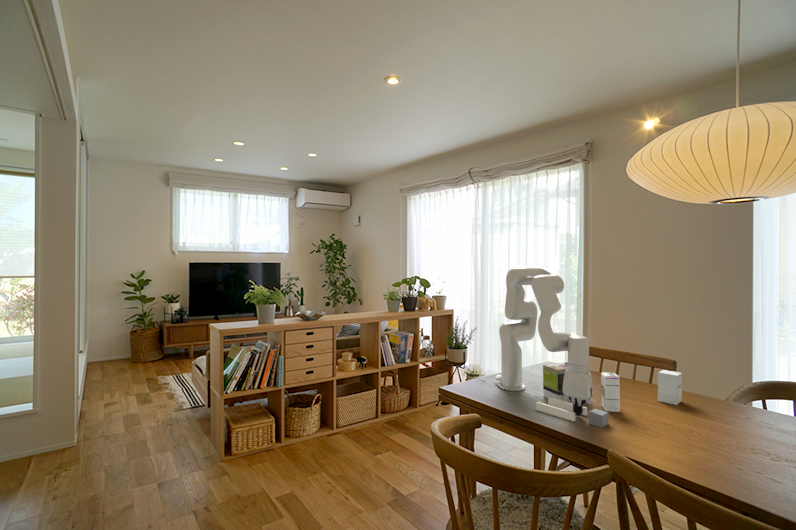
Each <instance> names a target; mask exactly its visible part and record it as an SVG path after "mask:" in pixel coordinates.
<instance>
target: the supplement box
mask: <svg viewBox="0 0 796 530" xmlns="http://www.w3.org/2000/svg"><path fill="white" fill-rule="evenodd" d="M682 375H683V373H682V372H678V371H672V370H666V369H662V370H660V371H659V372H657V402H661V403H666V404H669V405H673V404H674V406H678V405H679V404H680V403H681V402H682V401H683V400H682V397H683V396H682V395H683V394H682V393H683V392H682V388H683V385H682V384H683V380H682V379H683V376H682Z"/></svg>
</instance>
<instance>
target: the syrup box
mask: <svg viewBox="0 0 796 530" xmlns="http://www.w3.org/2000/svg"><path fill="white" fill-rule="evenodd" d="M600 384H601V385H600V392H601V396H600V399H601V401H600V402H601V408H603V411H605V412H610V413H611V412H613V413H614V412H615V413H620V411H621V393H620V392H621V389H620V388H621V387H620V386H621V385H620V376H619V375H618V374H616V372H600Z"/></svg>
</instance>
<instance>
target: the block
mask: <svg viewBox="0 0 796 530" xmlns="http://www.w3.org/2000/svg"><path fill="white" fill-rule="evenodd" d="M589 424H590V425H592V426H596V427H599V428H604V427H606V426H607V425H609V411H605V410H601V409H597V408H593V409H591V410H589V411H588V425H589Z"/></svg>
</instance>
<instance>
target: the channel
mask: <svg viewBox="0 0 796 530" xmlns="http://www.w3.org/2000/svg"><path fill="white" fill-rule="evenodd" d="M535 410H537V411H539V412H542V413H546V414H549V415H551V416H554V417H558V418H561V419H565V420H568V421H570V420H571V421H570V422H573V421H574V422H576V415H575V413H574V412H573V404H572V402H566V401H562V400H559V399H555V398H551V397H548V398H547V404H546V403H543V402H539V401H536V402H535ZM580 416H588V408H587V407H586V406H583V412H582V414H581V415H580Z"/></svg>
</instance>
